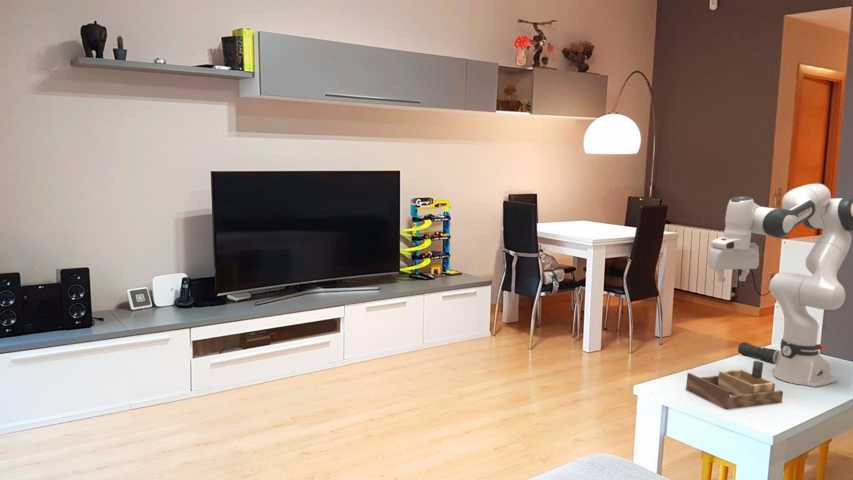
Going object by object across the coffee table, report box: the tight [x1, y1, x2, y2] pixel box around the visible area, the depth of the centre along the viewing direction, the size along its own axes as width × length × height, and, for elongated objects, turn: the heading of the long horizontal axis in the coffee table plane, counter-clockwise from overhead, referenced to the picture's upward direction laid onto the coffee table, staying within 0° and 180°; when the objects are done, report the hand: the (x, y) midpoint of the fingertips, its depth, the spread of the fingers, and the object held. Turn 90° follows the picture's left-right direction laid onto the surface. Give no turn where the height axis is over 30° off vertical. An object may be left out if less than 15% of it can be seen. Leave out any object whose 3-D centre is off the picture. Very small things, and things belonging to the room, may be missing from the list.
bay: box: [685, 372, 784, 410], centre depth 236 cm, size 24×18×7 cm
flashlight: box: [737, 341, 780, 364], centre depth 286 cm, size 15×5×5 cm, turn 39°
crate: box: [718, 360, 776, 396], centre depth 238 cm, size 11×14×11 cm
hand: (731, 281), depth 249 cm, fingers open, 8 cm apart
